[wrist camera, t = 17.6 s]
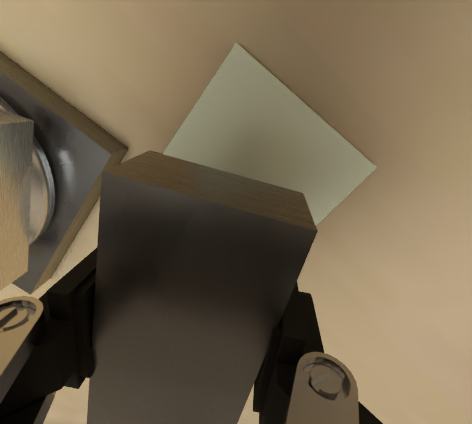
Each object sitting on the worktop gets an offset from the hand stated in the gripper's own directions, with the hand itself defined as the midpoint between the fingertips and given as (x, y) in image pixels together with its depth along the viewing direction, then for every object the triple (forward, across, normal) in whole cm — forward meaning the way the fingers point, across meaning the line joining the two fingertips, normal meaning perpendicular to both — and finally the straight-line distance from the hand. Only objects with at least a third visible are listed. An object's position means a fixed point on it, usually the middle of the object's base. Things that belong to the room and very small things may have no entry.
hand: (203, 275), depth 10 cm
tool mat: (+8, -1, -1) cm, 8 cm away
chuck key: (+6, 0, 0) cm, 6 cm away
